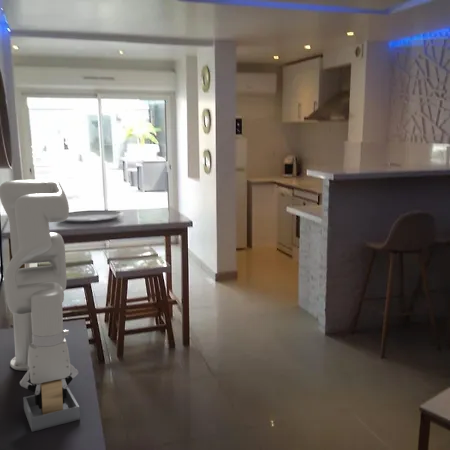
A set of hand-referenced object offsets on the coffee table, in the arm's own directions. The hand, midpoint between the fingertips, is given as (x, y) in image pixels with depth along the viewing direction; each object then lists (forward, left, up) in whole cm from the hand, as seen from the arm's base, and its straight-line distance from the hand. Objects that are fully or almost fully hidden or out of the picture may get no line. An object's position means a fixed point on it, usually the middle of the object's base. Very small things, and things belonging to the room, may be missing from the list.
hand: (50, 403), depth 131 cm
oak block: (0, 0, -1) cm, 1 cm away
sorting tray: (0, 0, -3) cm, 3 cm away
